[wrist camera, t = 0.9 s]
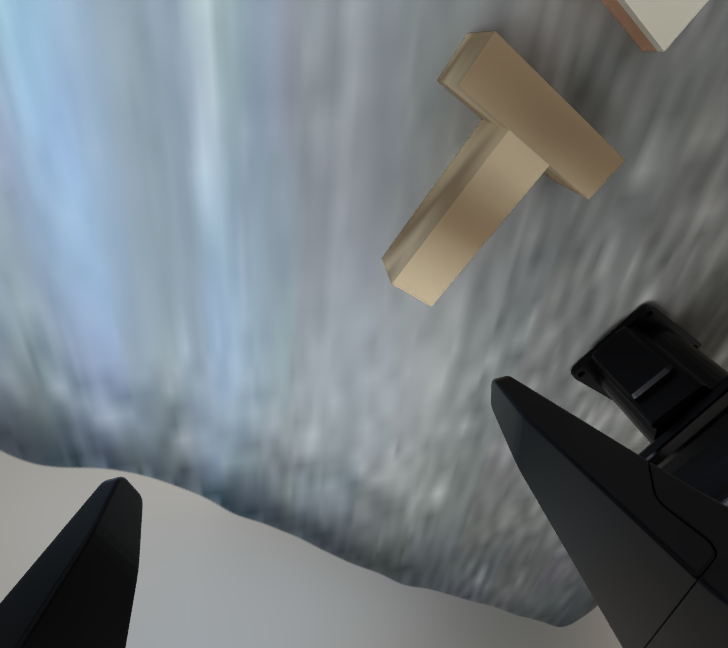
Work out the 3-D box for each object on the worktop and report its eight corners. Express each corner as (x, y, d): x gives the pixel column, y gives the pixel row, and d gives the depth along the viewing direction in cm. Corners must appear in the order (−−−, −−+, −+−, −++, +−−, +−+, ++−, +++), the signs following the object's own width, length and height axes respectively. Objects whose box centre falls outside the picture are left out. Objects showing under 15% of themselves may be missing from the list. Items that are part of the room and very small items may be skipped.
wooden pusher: (453, 300, 24) (471, 328, 22) (338, 232, 21) (343, 256, 18) (585, 146, 20) (625, 160, 18) (467, 33, 17) (495, 30, 14)
